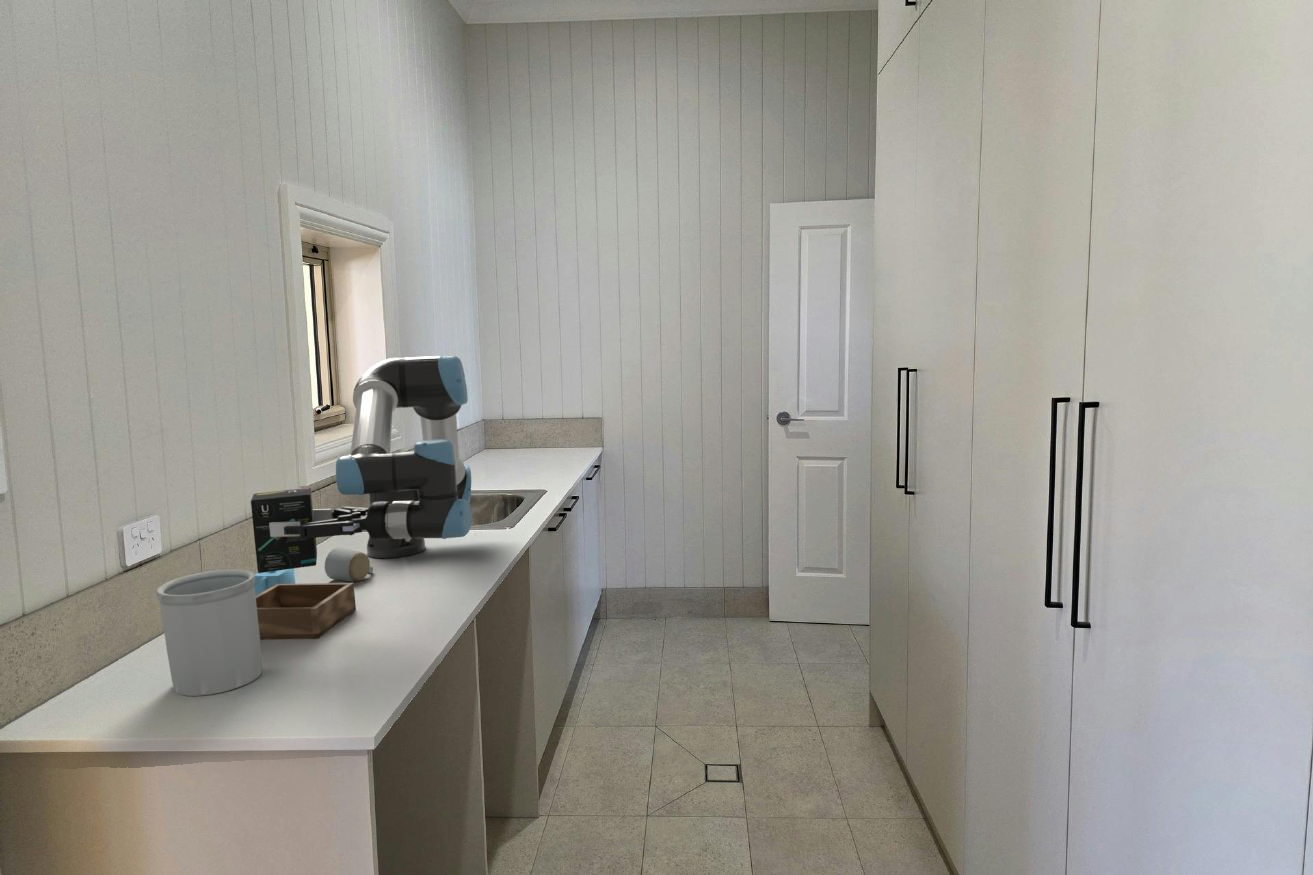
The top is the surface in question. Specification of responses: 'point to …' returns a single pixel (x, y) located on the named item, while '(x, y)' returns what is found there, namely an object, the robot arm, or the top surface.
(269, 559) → the tampon box
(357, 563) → the ceramic mug
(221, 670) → the utensil holder
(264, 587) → the teapot
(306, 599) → the box
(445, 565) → the top surface
